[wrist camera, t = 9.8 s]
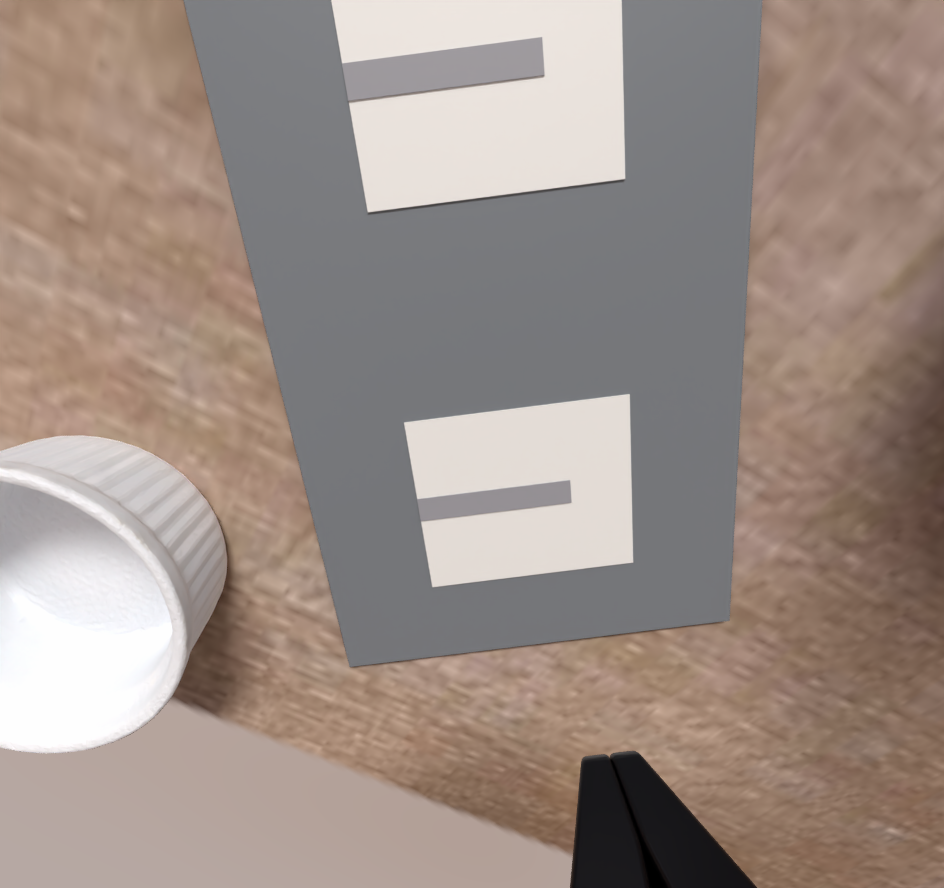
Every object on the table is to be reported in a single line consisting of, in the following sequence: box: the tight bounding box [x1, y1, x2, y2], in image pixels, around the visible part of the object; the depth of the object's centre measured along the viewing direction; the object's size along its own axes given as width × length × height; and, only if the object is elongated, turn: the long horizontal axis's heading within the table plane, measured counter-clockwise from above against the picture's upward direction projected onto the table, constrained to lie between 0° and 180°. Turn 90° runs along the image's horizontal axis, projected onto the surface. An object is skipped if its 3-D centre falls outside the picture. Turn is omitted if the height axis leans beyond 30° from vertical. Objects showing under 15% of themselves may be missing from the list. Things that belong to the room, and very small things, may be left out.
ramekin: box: [0, 435, 227, 753], centre depth 15 cm, size 9×9×4 cm
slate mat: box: [184, 0, 762, 667], centre depth 15 cm, size 14×24×1 cm, turn 7°
